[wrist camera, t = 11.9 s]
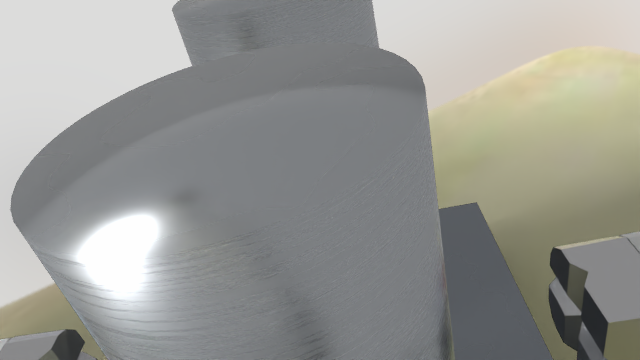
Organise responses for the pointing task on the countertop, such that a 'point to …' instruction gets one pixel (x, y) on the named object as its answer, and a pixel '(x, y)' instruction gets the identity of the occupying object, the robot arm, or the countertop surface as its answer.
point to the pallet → (484, 293)
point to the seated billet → (270, 24)
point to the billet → (250, 212)
